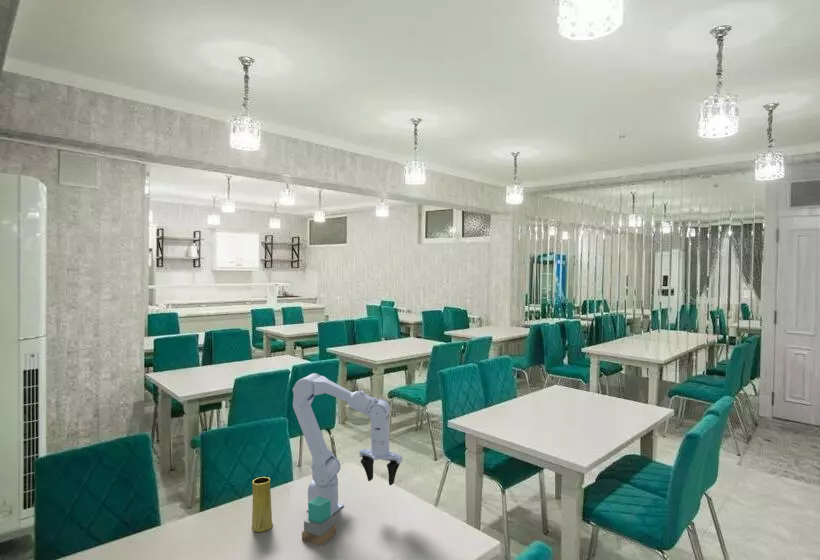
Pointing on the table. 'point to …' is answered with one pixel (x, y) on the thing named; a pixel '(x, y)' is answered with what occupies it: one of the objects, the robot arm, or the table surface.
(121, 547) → the table surface
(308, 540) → the walnut slab
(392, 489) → the table surface
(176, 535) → the table surface
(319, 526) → the slate slab
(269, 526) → the vase
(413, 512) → the table surface
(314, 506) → the teal block
